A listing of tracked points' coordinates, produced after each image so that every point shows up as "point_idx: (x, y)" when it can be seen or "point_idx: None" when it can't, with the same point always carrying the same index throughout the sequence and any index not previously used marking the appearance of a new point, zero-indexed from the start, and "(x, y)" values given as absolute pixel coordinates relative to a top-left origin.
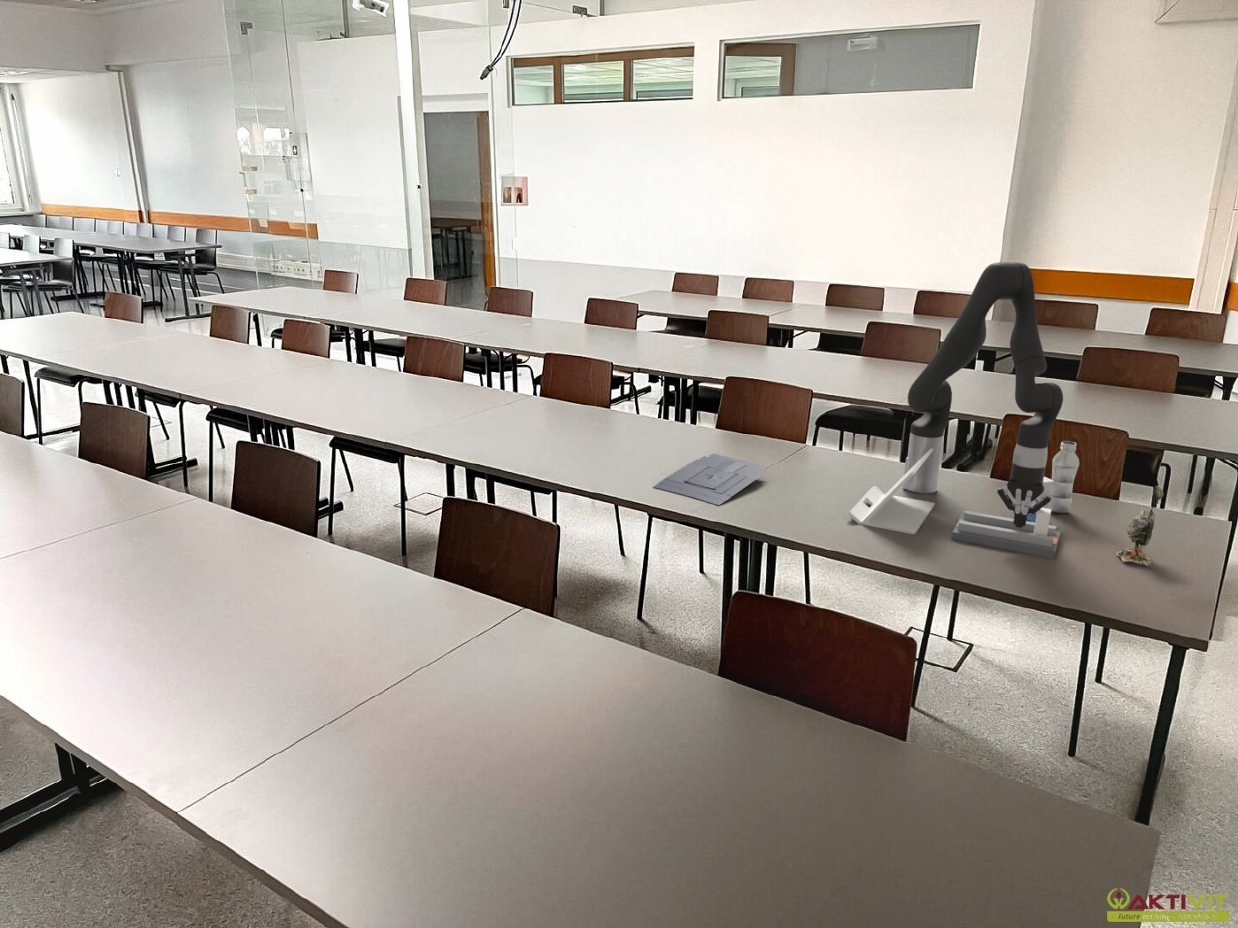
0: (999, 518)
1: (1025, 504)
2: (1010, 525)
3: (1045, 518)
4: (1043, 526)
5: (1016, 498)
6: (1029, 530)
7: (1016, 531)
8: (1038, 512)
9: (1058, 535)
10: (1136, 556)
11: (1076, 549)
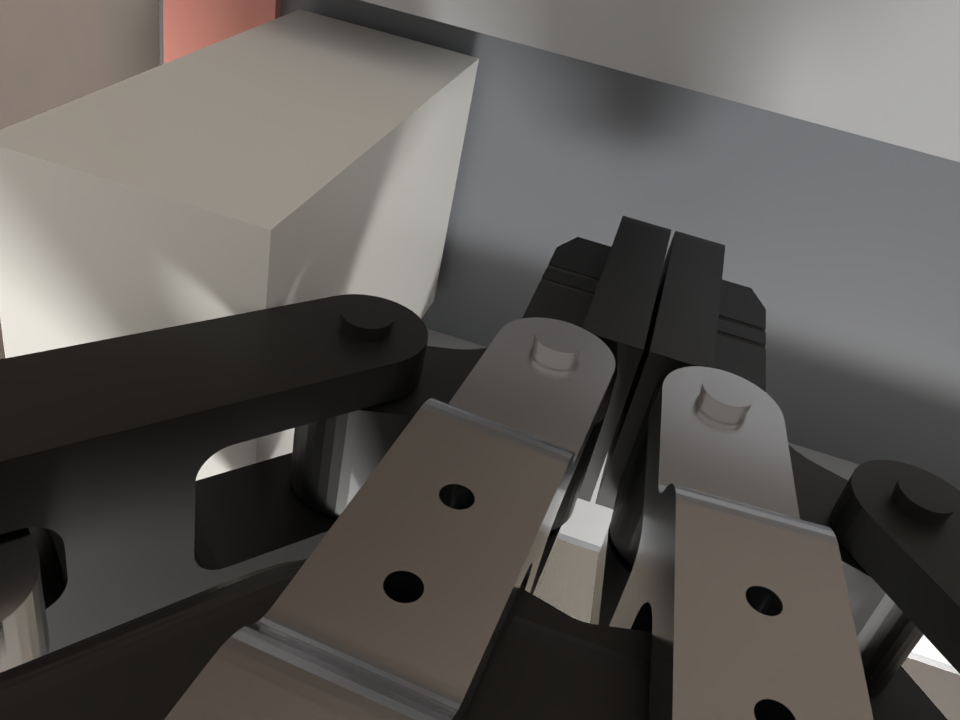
0: None
1: (523, 458)
2: None
3: (129, 129)
4: (245, 85)
5: (834, 693)
6: None
7: (754, 38)
8: (232, 254)
9: None
10: None
11: (30, 102)
